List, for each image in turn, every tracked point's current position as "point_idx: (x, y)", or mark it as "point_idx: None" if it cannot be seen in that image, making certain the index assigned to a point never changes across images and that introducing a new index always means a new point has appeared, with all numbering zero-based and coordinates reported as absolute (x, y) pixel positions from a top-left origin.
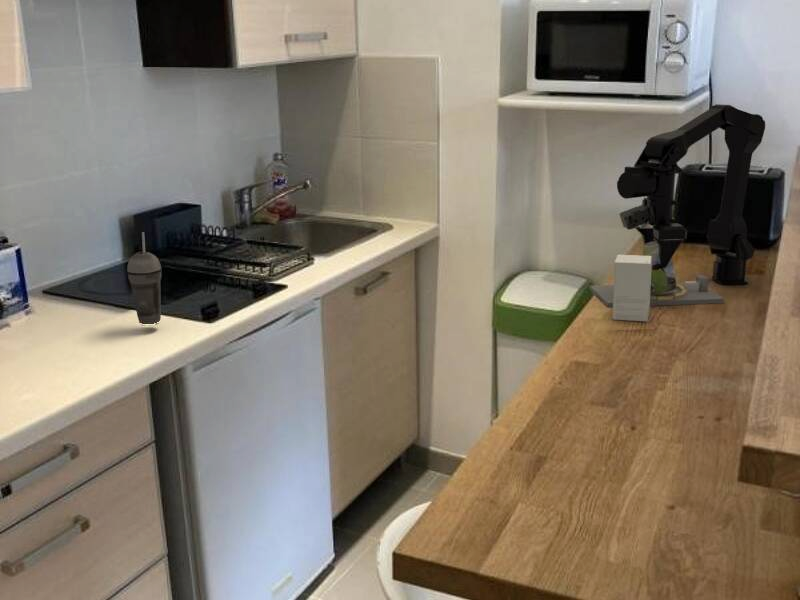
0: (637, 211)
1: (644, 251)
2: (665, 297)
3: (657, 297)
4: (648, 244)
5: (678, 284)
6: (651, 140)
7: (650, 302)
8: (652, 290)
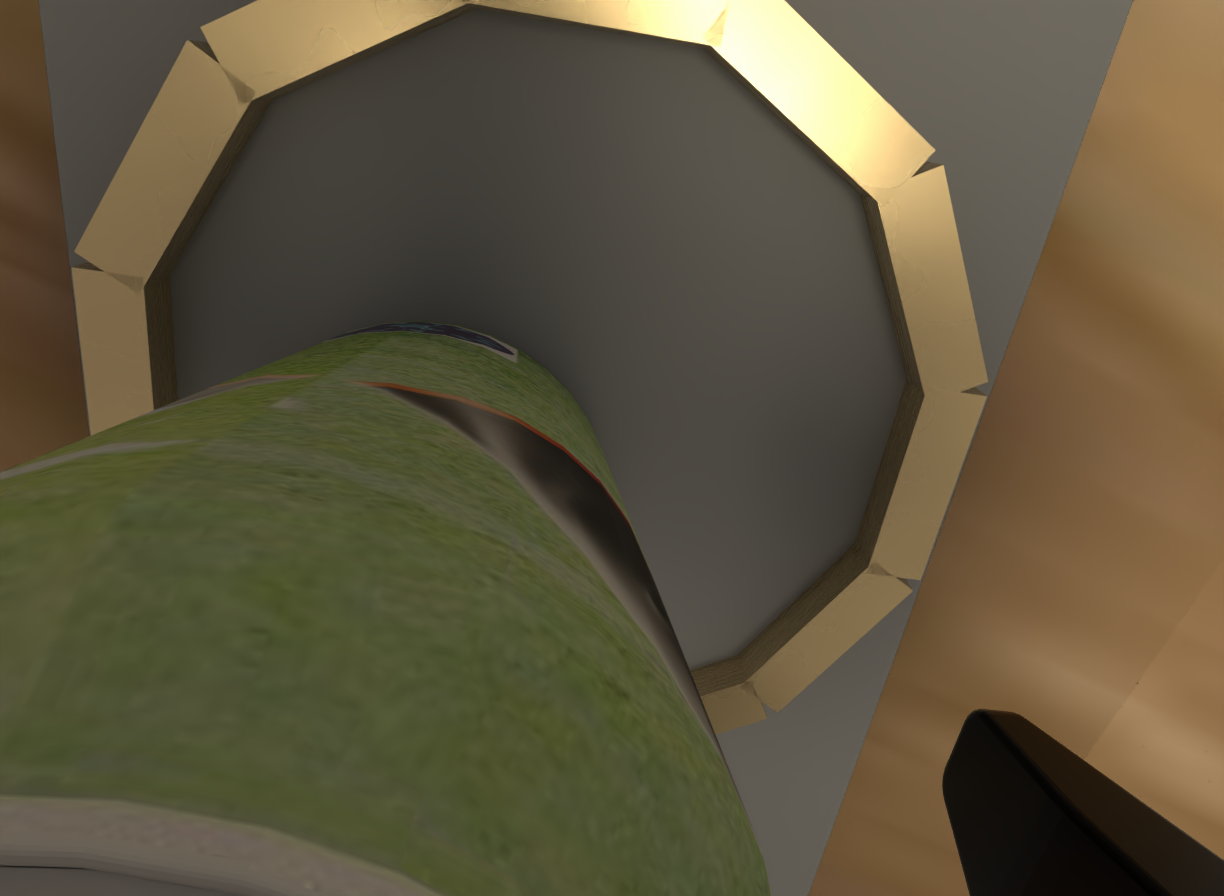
0: None
1: (85, 521)
2: (89, 376)
3: (90, 267)
4: None
5: (764, 789)
6: None
7: (63, 130)
8: (355, 331)
